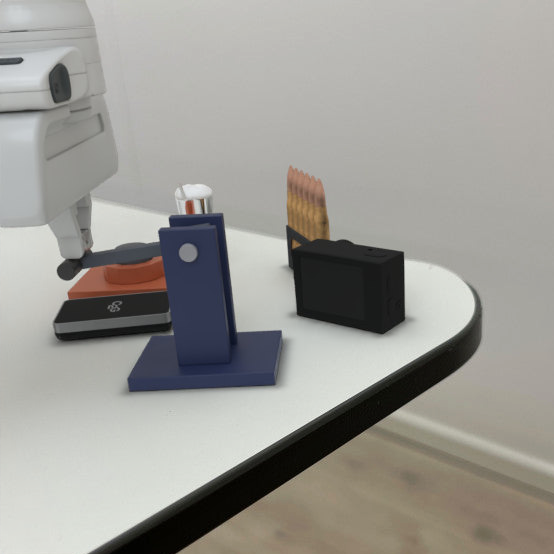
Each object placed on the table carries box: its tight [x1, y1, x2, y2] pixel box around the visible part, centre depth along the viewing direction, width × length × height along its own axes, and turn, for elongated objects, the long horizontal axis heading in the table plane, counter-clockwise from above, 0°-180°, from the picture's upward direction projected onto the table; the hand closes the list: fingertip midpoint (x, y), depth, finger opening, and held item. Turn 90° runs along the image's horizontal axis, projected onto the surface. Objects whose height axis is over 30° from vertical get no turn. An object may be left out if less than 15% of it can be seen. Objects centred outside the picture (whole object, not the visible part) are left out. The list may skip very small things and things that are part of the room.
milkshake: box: [174, 182, 214, 215], centre depth 94 cm, size 4×5×10 cm
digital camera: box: [292, 238, 406, 335], centre depth 75 cm, size 10×5×7 cm, turn 56°
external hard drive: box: [52, 291, 173, 341], centre depth 76 cm, size 7×11×2 cm, turn 100°
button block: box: [66, 256, 167, 300], centre depth 84 cm, size 12×10×4 cm
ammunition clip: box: [285, 165, 331, 271], centre depth 85 cm, size 11×2×12 cm, turn 24°
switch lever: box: [56, 223, 210, 282], centre depth 63 cm, size 12×5×2 cm, turn 91°
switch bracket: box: [126, 212, 284, 392], centre depth 64 cm, size 12×9×13 cm
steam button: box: [114, 241, 151, 265], centre depth 83 cm, size 4×4×2 cm
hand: (78, 253), depth 62 cm, fingers closed, pressing on switch lever
